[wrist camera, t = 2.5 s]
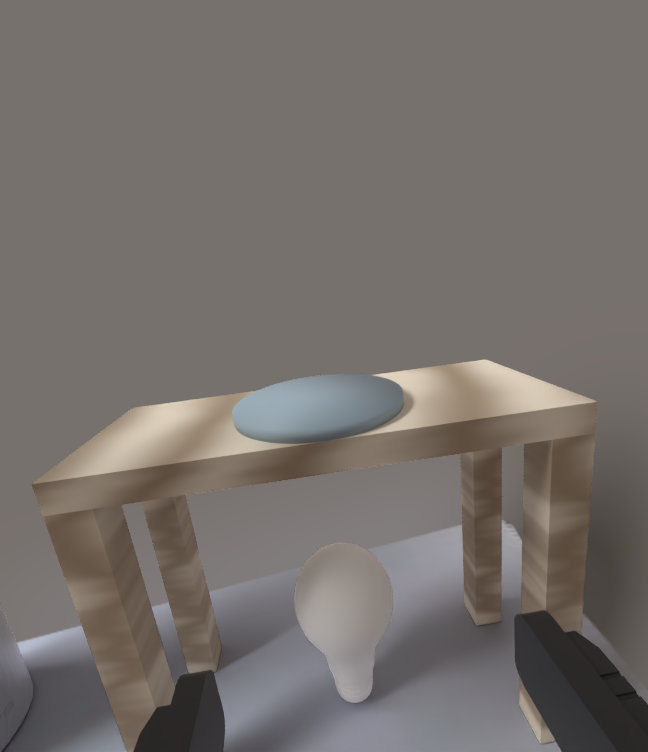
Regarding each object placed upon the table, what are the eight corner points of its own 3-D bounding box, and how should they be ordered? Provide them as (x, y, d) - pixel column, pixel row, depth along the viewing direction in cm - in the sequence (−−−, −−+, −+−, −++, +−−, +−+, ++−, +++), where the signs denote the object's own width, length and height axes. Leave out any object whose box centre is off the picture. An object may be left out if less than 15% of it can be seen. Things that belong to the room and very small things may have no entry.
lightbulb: (406, 749, 21) (393, 597, 19) (304, 744, 22) (277, 598, 19) (397, 647, 27) (385, 520, 24) (316, 646, 28) (297, 523, 25)
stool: (151, 820, 20) (26, 470, 14) (196, 650, 29) (130, 399, 24) (573, 737, 21) (598, 388, 16) (487, 599, 30) (485, 351, 25)
